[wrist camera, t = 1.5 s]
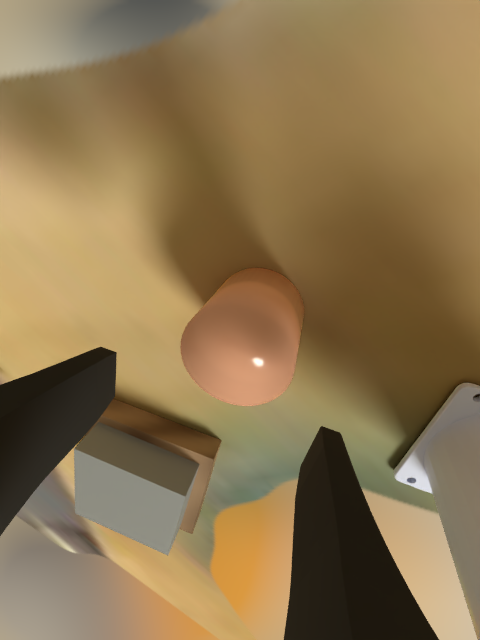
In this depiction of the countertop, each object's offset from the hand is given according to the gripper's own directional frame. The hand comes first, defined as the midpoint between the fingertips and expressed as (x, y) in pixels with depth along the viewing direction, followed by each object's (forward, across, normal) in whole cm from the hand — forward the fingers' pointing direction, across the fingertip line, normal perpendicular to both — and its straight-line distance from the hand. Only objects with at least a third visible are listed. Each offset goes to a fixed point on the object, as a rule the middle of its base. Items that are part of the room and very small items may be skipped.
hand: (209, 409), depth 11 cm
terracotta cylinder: (+8, 0, 0) cm, 8 cm away
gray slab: (+6, +5, +16) cm, 18 cm away
